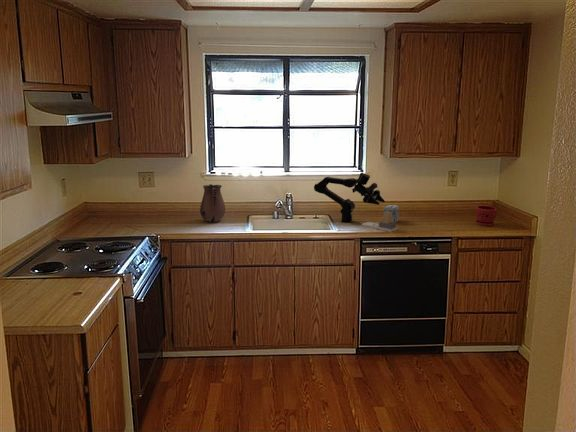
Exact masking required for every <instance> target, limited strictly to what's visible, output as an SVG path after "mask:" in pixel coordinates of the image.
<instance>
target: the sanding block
mask: <svg viewBox="0 0 576 432" xmlns="http://www.w3.org/2000/svg"><path fill="white" fill-rule="evenodd" d="M382 216H383V218H382V221H378V224H379V227H382V228H387V229H393V228H396V227H397V222H394V223H393V222H392V212H389V211H386V212H384V211H383V213H382Z"/></svg>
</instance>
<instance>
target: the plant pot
mask: <svg viewBox="0 0 576 432" xmlns="http://www.w3.org/2000/svg"><path fill="white" fill-rule="evenodd" d="M497 212H498V208H496V207H494V206H490V205H477V206H476V208H475V218H476V220H475V223H476V224H477V225H479V226H483V227H491V226H493V225H494V224H495V220H496V217H497Z"/></svg>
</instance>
